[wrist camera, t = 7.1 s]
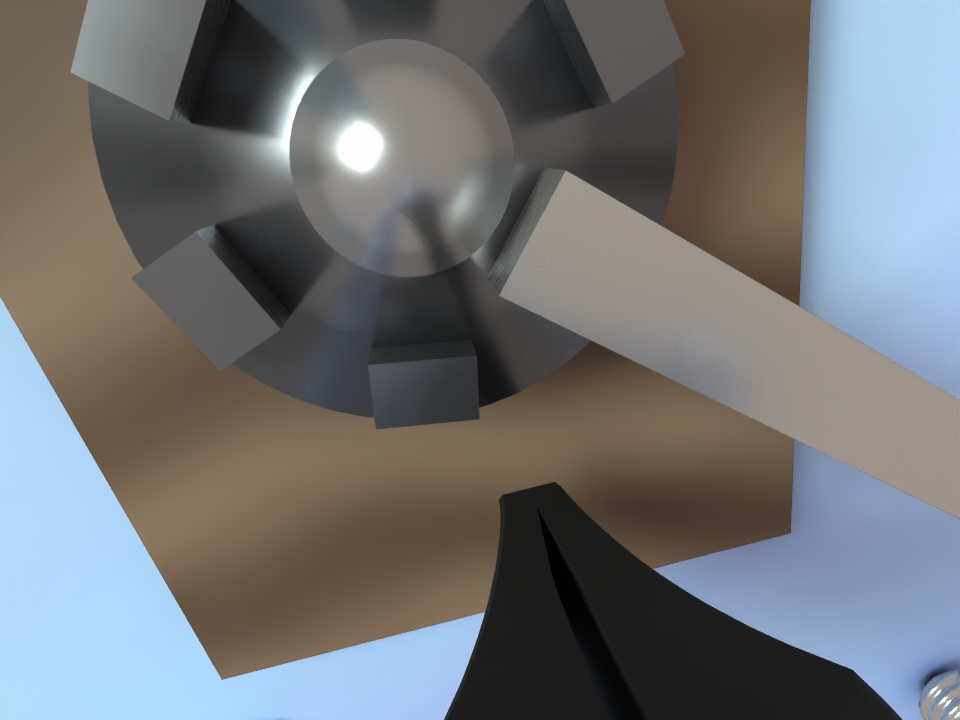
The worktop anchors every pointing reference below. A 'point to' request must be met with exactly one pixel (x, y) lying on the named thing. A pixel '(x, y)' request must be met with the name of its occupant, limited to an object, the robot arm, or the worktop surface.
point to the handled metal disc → (456, 216)
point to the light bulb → (941, 697)
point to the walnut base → (354, 439)
